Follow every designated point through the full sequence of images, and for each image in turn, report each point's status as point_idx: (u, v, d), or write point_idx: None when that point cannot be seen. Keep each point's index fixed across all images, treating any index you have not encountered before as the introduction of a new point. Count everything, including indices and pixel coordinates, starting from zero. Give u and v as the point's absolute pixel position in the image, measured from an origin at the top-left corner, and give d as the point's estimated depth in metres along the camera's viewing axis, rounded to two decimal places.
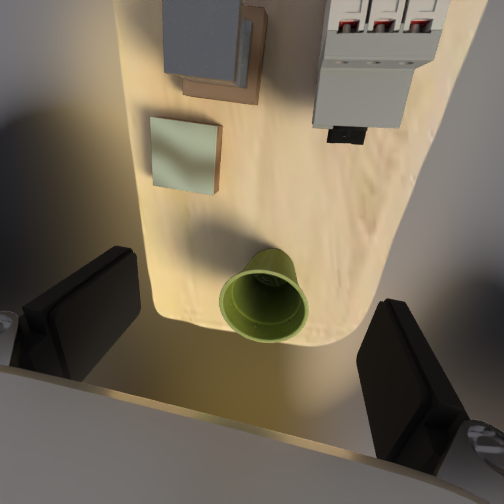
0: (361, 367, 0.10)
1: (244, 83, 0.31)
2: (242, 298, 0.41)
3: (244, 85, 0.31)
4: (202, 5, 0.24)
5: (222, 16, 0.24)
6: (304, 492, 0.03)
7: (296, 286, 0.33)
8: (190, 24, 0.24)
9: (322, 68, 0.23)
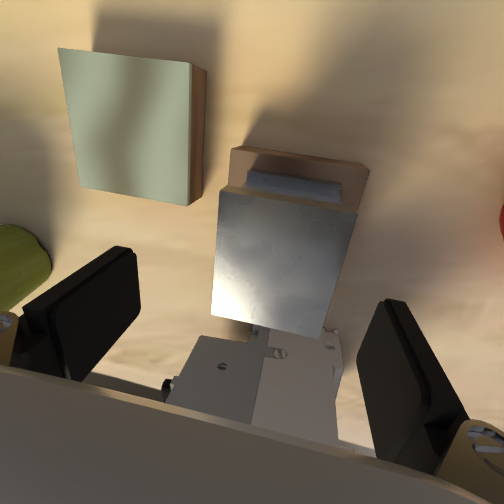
0: (361, 367, 0.10)
1: None
2: None
3: None
4: (320, 285, 0.13)
5: (299, 312, 0.14)
6: (304, 492, 0.03)
7: None
8: (295, 259, 0.13)
9: None
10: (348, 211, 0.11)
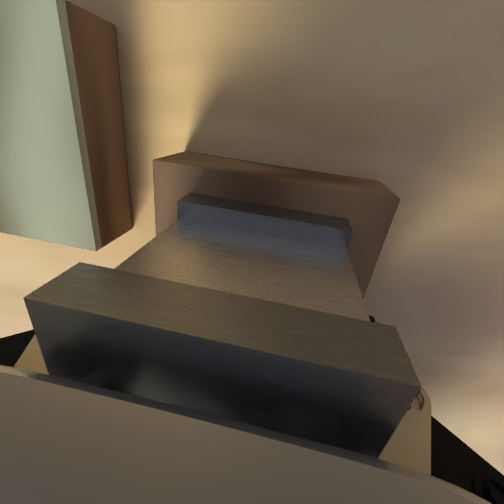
0: None
1: None
2: None
3: None
4: None
5: None
6: (304, 491, 0.03)
7: None
8: None
9: None
10: (389, 367, 0.04)
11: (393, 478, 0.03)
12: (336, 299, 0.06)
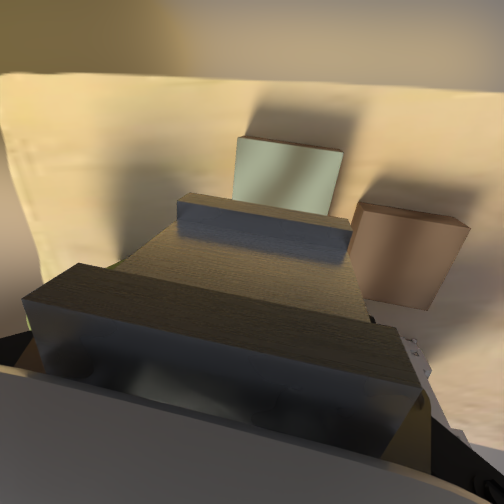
0: None
1: None
2: None
3: None
4: None
5: None
6: (304, 490, 0.03)
7: None
8: None
9: None
10: (390, 369, 0.04)
11: (393, 478, 0.03)
12: (337, 300, 0.06)
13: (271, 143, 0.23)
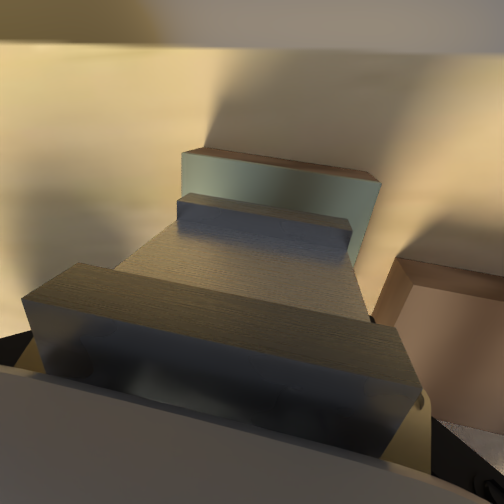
0: None
1: None
2: None
3: None
4: None
5: None
6: (304, 491, 0.03)
7: None
8: None
9: None
10: (390, 369, 0.04)
11: (393, 478, 0.03)
12: (336, 300, 0.06)
13: (243, 164, 0.12)
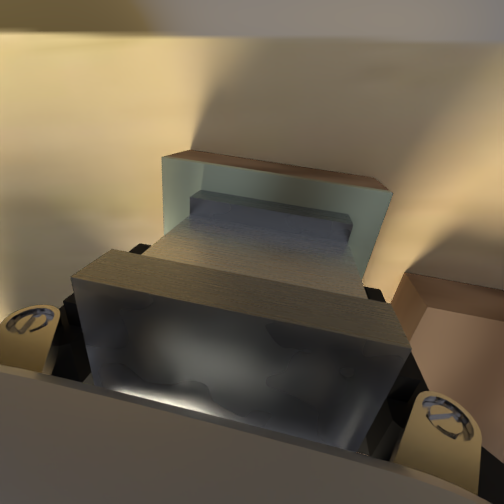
0: None
1: None
2: None
3: None
4: None
5: None
6: (304, 490, 0.03)
7: None
8: (262, 417, 0.06)
9: None
10: (385, 334, 0.05)
11: (393, 478, 0.03)
12: (338, 285, 0.07)
13: (233, 170, 0.11)
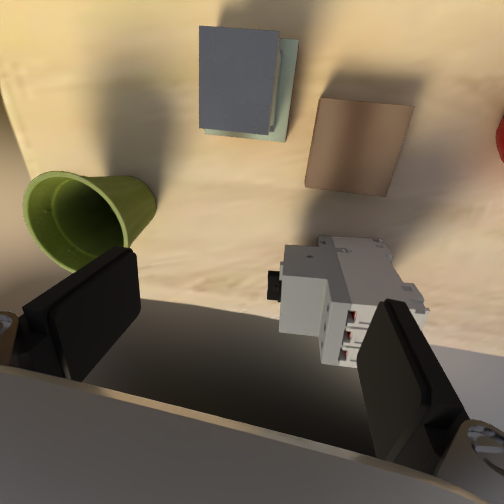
0: (361, 367, 0.10)
1: None
2: (77, 183, 0.31)
3: None
4: (264, 89, 0.21)
5: (254, 114, 0.22)
6: (304, 492, 0.03)
7: None
8: (247, 71, 0.21)
9: (326, 280, 0.27)
10: None
11: (393, 478, 0.03)
12: None
13: None
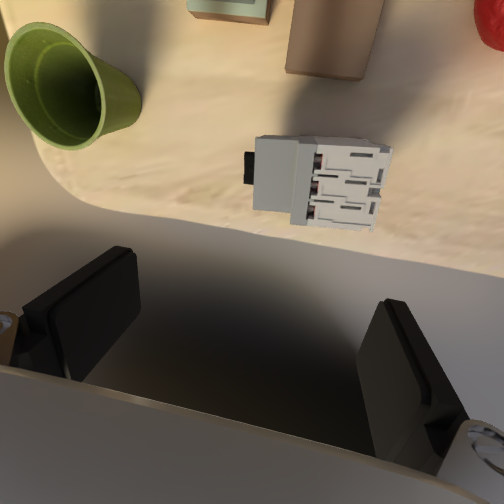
0: (361, 367, 0.10)
1: None
2: (61, 59, 0.32)
3: None
4: None
5: None
6: (304, 491, 0.03)
7: (97, 133, 0.30)
8: None
9: (298, 142, 0.27)
10: None
11: (393, 478, 0.03)
12: None
13: None
